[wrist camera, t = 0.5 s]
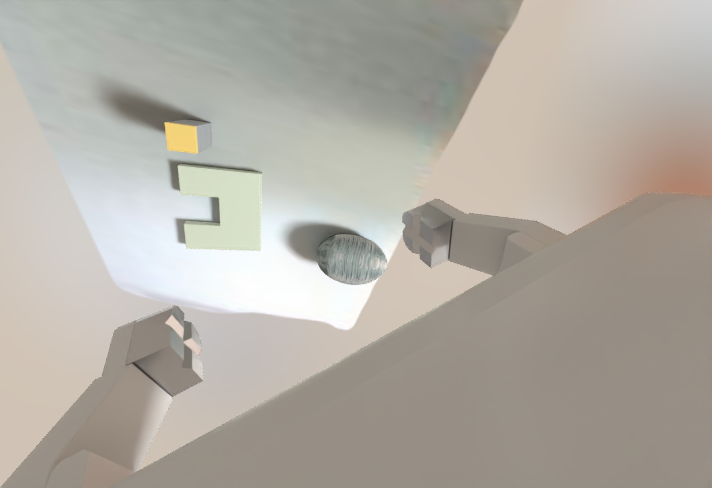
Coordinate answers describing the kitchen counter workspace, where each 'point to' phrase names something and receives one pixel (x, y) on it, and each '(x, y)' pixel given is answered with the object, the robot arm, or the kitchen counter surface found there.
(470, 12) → the kitchen counter surface
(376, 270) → the grey oval lump
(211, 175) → the notched board
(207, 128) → the grey and yellow block
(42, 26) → the kitchen counter surface
